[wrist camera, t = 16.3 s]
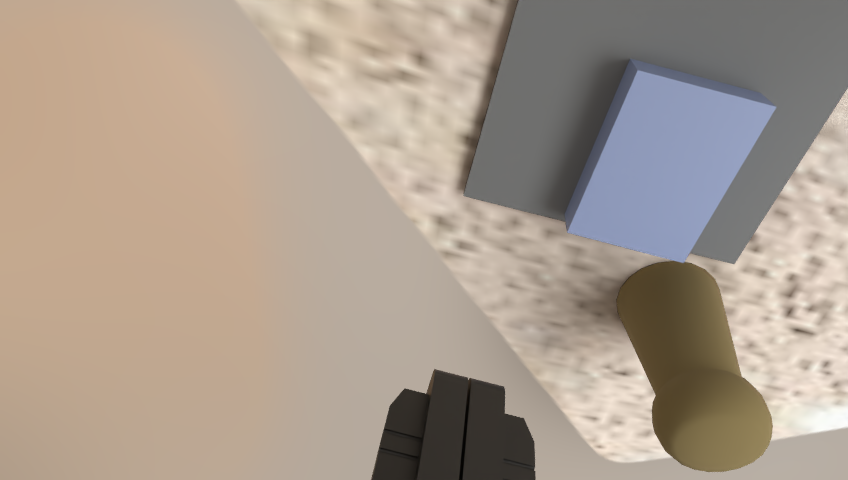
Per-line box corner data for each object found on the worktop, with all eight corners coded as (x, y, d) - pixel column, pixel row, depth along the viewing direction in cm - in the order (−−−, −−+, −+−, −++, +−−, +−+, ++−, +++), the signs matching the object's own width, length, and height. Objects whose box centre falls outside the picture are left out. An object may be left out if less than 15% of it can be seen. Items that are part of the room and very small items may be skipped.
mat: (889, 9, 25) (896, 11, 25) (730, 258, 33) (734, 264, 32) (540, -79, 25) (540, -78, 25) (464, 191, 33) (463, 195, 32)
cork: (690, 243, 33) (758, 386, 23) (737, 311, 35) (817, 466, 25) (597, 291, 35) (626, 435, 26) (646, 351, 37) (689, 504, 28)
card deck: (630, 58, 27) (760, 93, 27) (564, 214, 32) (674, 243, 32) (637, 70, 25) (776, 106, 25) (567, 232, 30) (683, 263, 30)
